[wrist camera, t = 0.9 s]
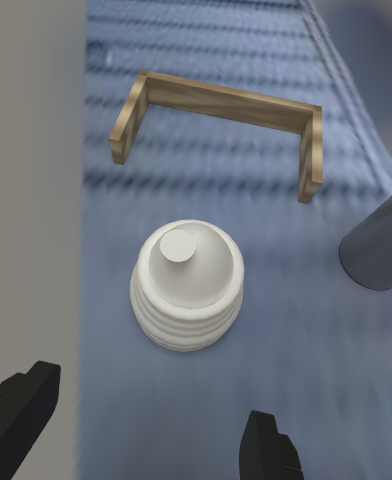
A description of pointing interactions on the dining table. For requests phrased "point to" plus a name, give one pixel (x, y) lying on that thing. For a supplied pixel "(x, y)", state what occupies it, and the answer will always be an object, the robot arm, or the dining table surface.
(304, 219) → the dining table surface
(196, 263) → the honey pot
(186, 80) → the oak bay
